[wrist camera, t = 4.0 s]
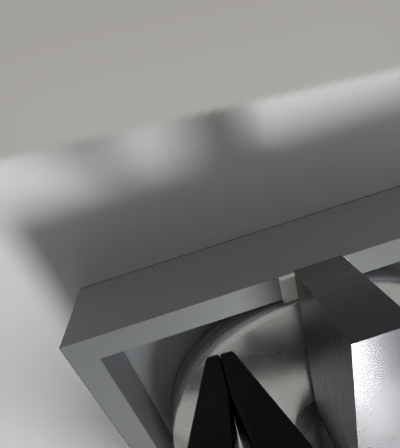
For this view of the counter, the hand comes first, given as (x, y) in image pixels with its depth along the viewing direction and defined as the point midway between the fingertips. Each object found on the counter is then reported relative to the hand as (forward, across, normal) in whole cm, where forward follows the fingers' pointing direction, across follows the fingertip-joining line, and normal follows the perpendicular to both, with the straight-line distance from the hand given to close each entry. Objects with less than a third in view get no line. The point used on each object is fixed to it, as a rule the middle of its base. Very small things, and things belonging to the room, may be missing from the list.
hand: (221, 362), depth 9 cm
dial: (+3, -5, +7) cm, 9 cm away
